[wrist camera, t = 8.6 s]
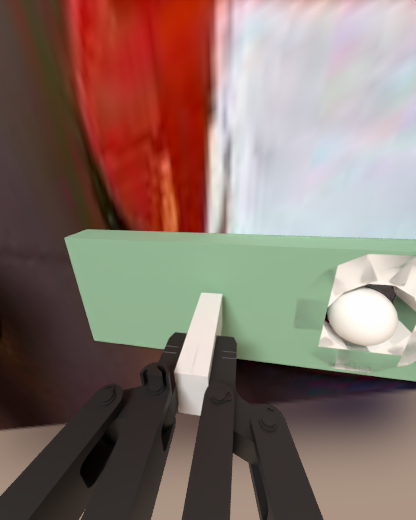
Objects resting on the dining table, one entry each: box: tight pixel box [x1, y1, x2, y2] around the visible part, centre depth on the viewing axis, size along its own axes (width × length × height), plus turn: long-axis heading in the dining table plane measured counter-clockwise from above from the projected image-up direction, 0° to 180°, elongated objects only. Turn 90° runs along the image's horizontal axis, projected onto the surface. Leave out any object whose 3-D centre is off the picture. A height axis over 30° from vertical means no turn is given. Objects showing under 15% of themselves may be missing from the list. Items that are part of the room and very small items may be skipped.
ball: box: [327, 287, 398, 346], centre depth 15 cm, size 4×4×4 cm
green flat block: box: [64, 229, 416, 381], centre depth 16 cm, size 28×10×4 cm, turn 91°
